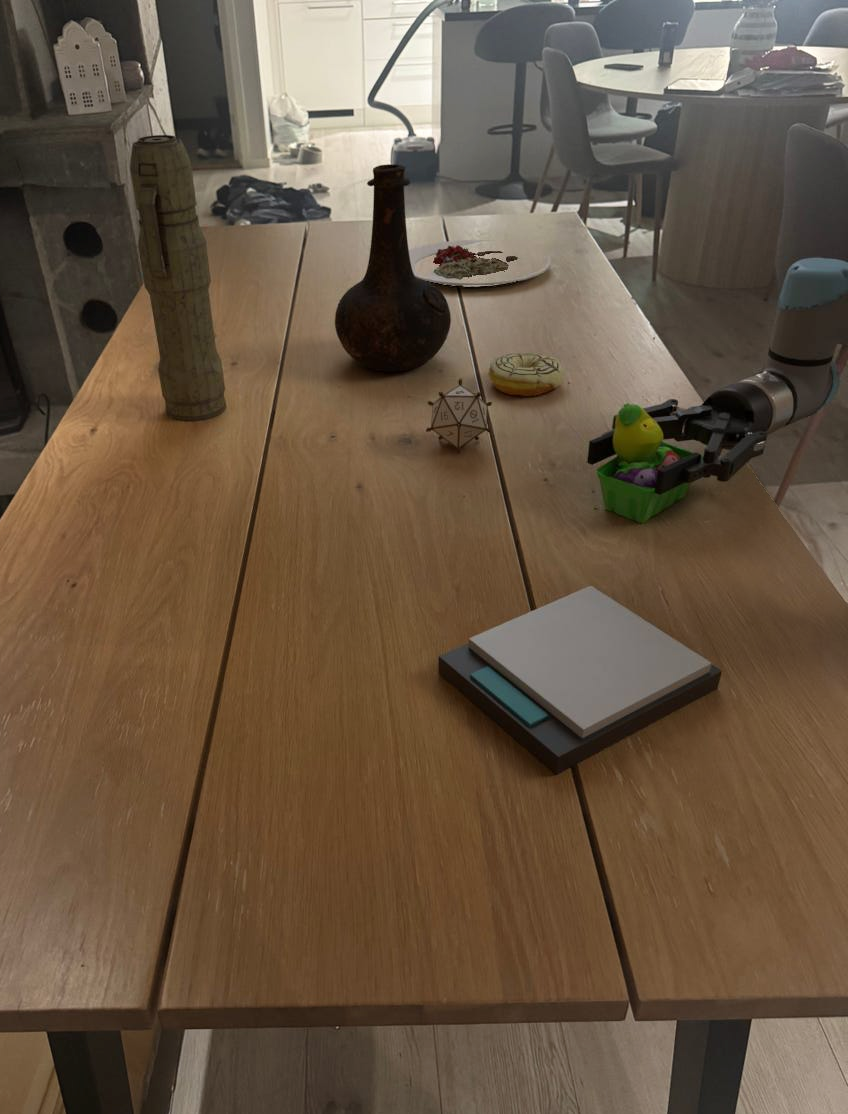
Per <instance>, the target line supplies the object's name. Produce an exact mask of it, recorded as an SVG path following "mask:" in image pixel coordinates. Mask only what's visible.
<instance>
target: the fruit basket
mask: <svg viewBox="0 0 848 1114" xmlns="http://www.w3.org/2000/svg"><path fill="white" fill-rule="evenodd" d="M643 408H644V407H641V406H640V405H638V404H634V403H633V404H630V403H629V402H628V403H625V404H623V405H622V407H621V408H620V409H619V410H618V413H617V414H616V415H617V417H616V421H615V432H614V435H613V447H614V450H615V453H616V454H615V455H616V456H615V457H614V458H612V459H610V460H608V461H607V462H605V463H603V464H602V465H601V466H599V467H598V468H597V469H596V475H597V478H598V480H599V484H600V489H601V494H602V500H603V506H604V509H605V510H607V511H610V512H614V513H615V514H616V515H619V516H622V517H624V518H626V519H629V520H634V521H635V522H637V523H639V524H643V523H645V522H647V521H648V520H650V518H652V517H654V516H656V515H657V514H659V513H660V512H662V511H663V509H667V508H668V507H670V506H671V505H673V504H674V503H675V502H677V501H679V500H680V499H682V498H684V497H685V495H686V493H687V491H688V490H689V487H690V486H691V483H686V482H685V483H683V484H681V485H679V486H677V487H675V488H673V489H671V490H669V491H667V492H665V493H663V494H661V495H659V494H657V493H654V492H655V486H656V480H657V474H658V470H659V469H661V468H663V467H666V466H668V465H670V464H672V463H674V462H676V461H678V460H680V459H682V458H685V457H687V456H689V455H691V454H693V453H694V452H693V451H690V450H687V449H684V448H681V447H678V446H675V445H672V444H669V443H667V442H664V440H663V432H662V430H661V428H660V426H659V425H658V424H657V423H656V421H655V420H654V419H653V418H651V417H650V416H649V415H648V414H647V412H646V411H645V410H644V409H643ZM701 459H703V455H701Z"/></svg>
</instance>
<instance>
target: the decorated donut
mask: <svg viewBox="0 0 848 1114" xmlns="http://www.w3.org/2000/svg"><path fill="white" fill-rule="evenodd" d="M488 371H489V372H488V376H489V379H490V381H491V382H492V384H493V386H494V387H495V388H496V389H497V390H498V391H500V392H502V393H504V394H507V395H509V396H521V397H531V396H533V395H534V397H536V395H537V396H540V395H542V394H543V393H544V394H546V393H549V392H551V391H553V390H552V389H555V388H556V389H557V388H558V387H559V386H560V385H561V384H562V381H563V377H564V374H565V369H564V366H563V364H562V363H561V362H560V361H559V360H558V359H557V358H555V357H553V356H551V355H545V354H538V353H532V352H525V353H508V354H505V355H502V356H499V357H497V358H495V359H493V360H492V362H490V363H489V368H488ZM556 389H555V390H556ZM550 390H551V391H550ZM548 391H549V392H548Z"/></svg>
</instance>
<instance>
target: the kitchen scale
mask: <svg viewBox="0 0 848 1114" xmlns="http://www.w3.org/2000/svg"><path fill="white" fill-rule="evenodd" d="M437 664H438V665H437V667H438V670H437V672H438V674H439V675H440V676H441V677H442V678H443V679H445V681H447V682H448V683H449V684H451V686H453V688H455V689H456V690H457V691H458V692H460V693H461V694H462V695H463V696H464V697H465V698H466V699H468V700H469V701H470V702H471V703H472V704H473V705H475V706H476V707H477V708H478V709H479V710H480V711H482V713H484V714H485V715H486V716H487V717H489V719H491V720H492V721H493V722H494V723H495V724H497V725H498V726H499V727H500V728H501V729H502V730H503V731H505V732H506V733H507V734H508V735H510V737H511V738H513V739H514V740H515V741H516V742H517V743H519V744H520V745H521V746H522V747H523V748H525V749H526V750H527V751H528V752H529V753H530V754H531V755H532V756H533V757H535V758H536V759H537V760H538V761H539V762H540V763H542V764H543V765H544V766H545V767H546V768H548V770H549V771H551V772H552V773H553V774H554V775H556V776H557V775H558V774H561V773H563V772H565V771H567V770H568V769H570V768H572V767H574V766H576V765H578V764H579V763H581V762H584V761H585V760H587V759H589V758H590V757H592V756H595V755H597V754H599V752H602V751H604V750H606V749H607V748H609V747H611V746H613V745H614V744H617V743H619V742H620V741H623V740H624V739H626V738H628V737H630V736H632V735H634V734H635V733H637V732H638V731H641V730H643V729H644V728H646V727H648V726H650V725H652V724H654V723H655V722H658V721H659V720H661V719H663V718H665V717H667V716H669V715H671V714H672V713H675V712H676V711H679V710H680V709H682V708H684V707H685V706H687V705H690V704H691V703H693V702H696V700H698V699H700V698H702V697H705V696H706V695H708V694H710V693H711V692H714V691H716V690H717V689H718V688H719V686H720V680H721V677H722V673H723V671H722V670H721V669H720V668H718V667H717V666H715V665H713V663H712V662H711V661H709V660H708V659H706V658H704V656H701V655H700V654H698V653H697V652H695V651H694V650H692V649H691V648H689V647H687V646H686V645H684V644H683V643H682V642H680V641H679V640H677V639H675V638H674V637H672V636H671V635H669V634H667V633H666V632H664V631H662V630H661V629H660V628H657V626H655V625H653V624H651V623H650V622H648V621H647V620H645V619H644V618H643V617H640V616H639V615H638V614H636V613H634V612H633V611H631V610H630V609H628V608H627V607H625V606H624V605H622V604H620V603H618V601H616V600H614V599H613V598H611V597H610V596H608V595H607V594H605V593H603V592H602V591H600V590H599V589H597V588H596V587H594V586H592V585H588V586H586V587H584V588H581V589H579V590H577V591H575V592H572V593H569V594H568V595H566V596H563V597H561V598H559V599H556V600H554V601H552V602H549V603H546V604H545V605H542V606H540V607H537V608H536V609H533V610H530V611H529V612H526V613H524V614H522V615H520V616H517V617H515V618H513V619H511V620H508V621H505V622H504V623H501V624H499V625H496V626H494V627H492V628H489V629H487V630H485V631H483V632H480V633H478V634H475V635H473V636H471V637H469V638H468V642H467V643H464V644H463V645H460V646H458V647H456V648H454V649H452V650H449V651H447V652H444V653H441V654H440V655H438V663H437Z"/></svg>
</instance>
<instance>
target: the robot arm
mask: <svg viewBox="0 0 848 1114" xmlns="http://www.w3.org/2000/svg"><path fill="white" fill-rule="evenodd" d="M838 344H848V262H847V261H844V260H841V259H836V258H824V257H808V258H802V259H799V260H797V261H796V262H794V263H793V264H792V265H790V266H789V267H788V270H787V272H786V275H785V278H784V280H783V283H782V287H781V290H780V294H779V297H778V299H777V307H776V314H775V318H774V324H773V329H772V333H771V339H770V343H769V347H768V351H767V355H766V359H765V364H764V368H763V370H761V371H759V372H756V373H755V374H753V375H751V376H749V377H747V378H745V379H742V380H739V381H737V382H735V383H732V384H729V385H727V386H724V387H722V388H720V389H717V390H716V391H714V392H712V393H711V394H709V396H708V397H707V398H706V399H705V400H704V402H702V403H701V404H700V405H697V406H695V405H694V406H690V407H688V408H683V407H681V406H678V405H679V400H677V399H675V398H669V399H668V400H666V401H664V402H662V403H659V404H655V405H651V406H648V407H642V408H643V409H644V410H645V411H646V412H647V414H648V415H649V416H650V417H651V418H653V419H654V420H655V421H656V423H657V424H658V425H659V426H660V428H661V430H662V432H663V440H662V441H664V440H665V441H666V440H672V439H673V440H674V441H676V442H677V443H678V442H687V441H695V442H699V443H700V444H703V445H705V446H706V448H704V451H703V455H702V453H699V452H697V451H696V452H693V454H691V455H689V456H687V457H685V458H682V459H680V460H678V461H676V462H674V463H672V464H670V465H668V466H666V467H663V468H661V469H659V470H658V474H657V480H656V486H655V492H654V493H657V494H659V495H661V494H663V493H665V492H667V491H669V490H671V489H673V488H675V487H677V486H679V485H681V484H683V483H685V482H686V483H694V482H696V481H698V480H700V479H702V478H704V479H705V478H706V479H708V478H711V477H712V476H714V477H716V480H717V481H719V482H723V483H725V482H728V481H729V480H730V479H731V478H733V476H735V475H736V474H737V473H738V472H739V471H740V470H741V469H742V468H743V467H744V466H745V465H747V464H748V462H749V461H751V460H752V459H754V458H757V457H759V456H762V455H763V454H764V452H765V448H766V444H767V439H768V436H769V435H771V434H774V433H775V432H777V431H778V430H781V429H782V428H783V429H784V428H785V427H787V426H789V425H791V424H794V423H796V422H798V421H800V420H803V419H805V418H808V417H810V416H813V415H815V414H816V413H818V412H819V411H820V410H821V409H822V408H825V407H826V406H827V405H828V404H830V403H831V402H832V401H833V400H834V399H835V397H836V396H837V394H838V392H839V390H840V386H841V385H840V384H841V377H840V373H839V367H838V365H837V364H836V362H835V361H834V360H833V359H834V355H835V351H836V349H837V345H838ZM617 415H618V414H615V415H613V417H612V425H611V429H610V430H608V431H606V432H604V433H602V435H600V436H598V437H596V438H594V439H591V440H589V442H588V451H587V458H586V463H587V464H589V465H591V466H593V465H595V464H597V463H599V462H602V461H604V460H606V459H609V458H611V457H613V456H616V455H617V454H616V453H615V450H614V447H613V435H614V432H615V421H616V417H617ZM723 450H726V451H727V452H726V453H725V454H724V455H723V456H722V457H721V458H720V456H721V454H722V452H723ZM701 456H703V459H701ZM719 458H720V459H719Z"/></svg>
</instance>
